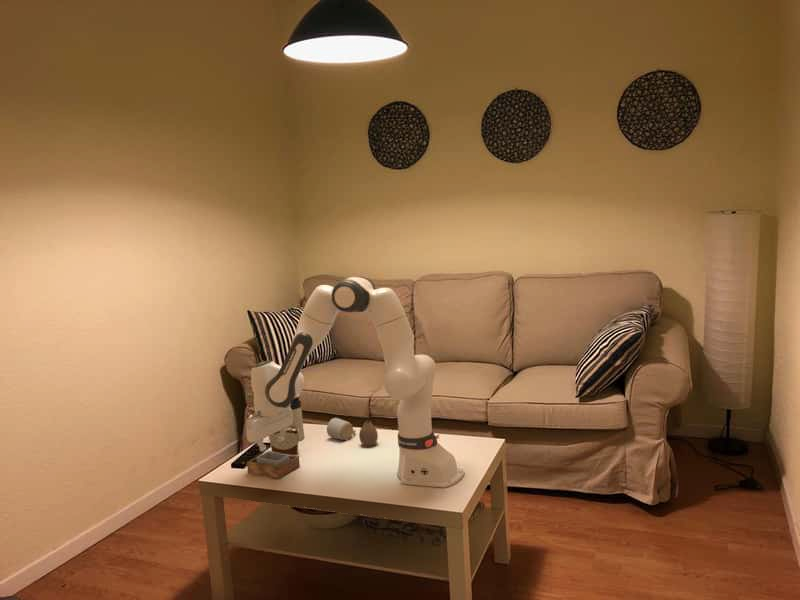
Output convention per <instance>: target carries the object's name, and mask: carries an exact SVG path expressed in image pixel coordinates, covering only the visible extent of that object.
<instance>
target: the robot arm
mask: <svg viewBox="0 0 800 600" xmlns="http://www.w3.org/2000/svg"><path fill="white" fill-rule="evenodd" d="M340 311H341V312H344V313H362V312H366V313H368V315H369V316H370V319H371V322H372V324H373V327H374V329H375V332H376V336H377V338H378V340H379V343H380V345H381V348H382V353H383V360H384V369H385V376H384V380H383V381H384V382H383V383H384V384H383V386H384V389H385V391H386V394H387V395H389V396H390V397H391V398H392V399H395V400H398V401H399V403H398V407H397V411H396V415H397V430H398V432H397V445H398V448H399V453H398V455H399V457H398V467H397V472H396V476H397V478H399V479H400V482H401V484H402V485H403V484H404V485H412V486H422V487H423V486H424V487H435V488H448V487H451V486H453V485H454V484H456V483H458V482H459V481H460V480H461V479H463V477H464V476H465V470H464V469H463V468H461V467H458V466H457V462H456V457H455V456H454V454H452V453H451V452H450V451H448V450H447V449H446V448H445V447H443V446H442V445H441V444H440V443H439V442H438V439H439V438H440V433H439V434H437V435H435V433H434V430H433V428H432V425H433V424H432V411H431V410H432V399H433V390H434V389H433V388H434V380H435V377H436V374H437V365H436V362H435V360H434V359H433V358H432V357H430V356H429V355H427V354H415V348H414V347H415V346H414V344H415V343H414V342H415V335H414V332H413V330H412V327H411V324H410V322H409V319H408V317H407V313H406V312H405V308H404V307H403V305H402V302H401V300H400V299H399V297H398V296H397V293H396V292H395V291H394V290H393V289H392V288H390V287H379V288H377V289H376V286H375V283H373V281H372V280H370V279H369V278H368V277H365V276H355V277H354V276H351V277H347V278H346V279H342V280H340V281H339V282H337V283H336V284H335V285H334V286H331V285H329V284H320V285H318V286H317V287H316V288H315V289H314V290H313V291H312V293H311V295H310V296H309V297H308V299H307V302H306V303H305V305H304V308H303V309H302V313H301V314H300V317H299V321H298V323H297V326H296V330H295V332H294V336H293V339H292V341H291V345H290V347H289V350H288V352H287V353H286V356H285V358H284V360H283V363H282V364H281V365H279V364H277V363H275V362H274V361H273V360H264V361H260V362H259V363H257V364H255V365H253V367H251V371H250V381H251V389H252V392H253V405H254V413H253V414H250V415H249V416H248V418H247V419H246V425H245V426H246V427H245V428H246V429H245V431H246V432H245V434H246V440H247V441H248V442H249V443H256V444H257V445H258V446H259V451H260V452H264V451H265V452H266V450H267V445H266V444H264V443H263V442H264V439H265V438H269V436H270V435H272V434H274V433H276V432H278V431H280V434H279V436H278V441H279V442H282V441H284V440H285V438H284V436H285V432H286V427H288V426H290V425H292V422H293V415H292V409H291V407H289V406H290V405H291V403H292V401H293V400H294V398H295V397H296V396H297V395H298V394H299V395H300V394H301V392H302V391H303V390H304V388H305V386H306V379H305V376H304V374H303V373H302V372H301V371H302V368H303V366H304V365H305V362H306V360H307V359H308V357H309V356H310V354H311V353H312V352H313V351H314V350H316V348H317V347H318V346H319V345H320V344H321V343H322V342H323V341H324V340H325V339H326V337H327V336H328V335H329V334H330V333H329V332H331V329H332V328H333V325H334V323H335V320H336V318H337V316H338V314H339V313H340Z"/></svg>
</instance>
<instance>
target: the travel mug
mask: <svg viewBox="0 0 800 600" xmlns="http://www.w3.org/2000/svg"><path fill="white" fill-rule="evenodd" d="M299 397H300V393H299V394H298V395H297V396H296V397H295V398H294V400H293V401H292V403H291V405H290V406H289V407H291V409H292V415H293V422H292V425H295V426H297V427H298V429H299V432H300V434H299V433H298V442H300V441H302V440H304V439H305V431H304V430H305V429H304V422H303V411H302V402H301V400H300V398H299Z"/></svg>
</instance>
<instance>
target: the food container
mask: <svg viewBox="0 0 800 600" xmlns="http://www.w3.org/2000/svg"><path fill="white" fill-rule="evenodd" d="M298 433H299V434H300V432H299V429H298V427H297V426H295V425H290V426H288V427H286V432H285V436H284V438H285V440H284V441H282V442H279V441H278V436H279V434H280V431H278V432H276V433H274V434H272V435H270V436H268V440H269V443H270V448H271V451H273V452H279V453H284V454H289V455H295V456H299V441H298Z"/></svg>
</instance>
